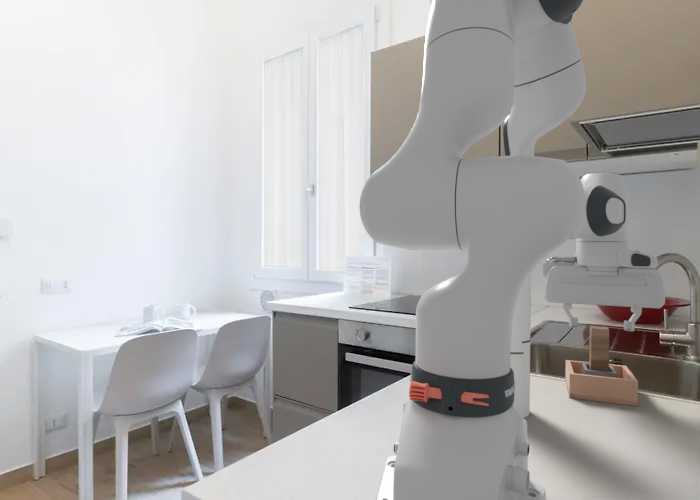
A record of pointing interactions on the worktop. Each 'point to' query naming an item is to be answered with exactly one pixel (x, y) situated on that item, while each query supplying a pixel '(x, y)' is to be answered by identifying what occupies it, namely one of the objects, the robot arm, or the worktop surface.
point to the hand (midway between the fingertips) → (600, 328)
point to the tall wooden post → (599, 348)
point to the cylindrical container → (521, 349)
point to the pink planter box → (601, 383)
